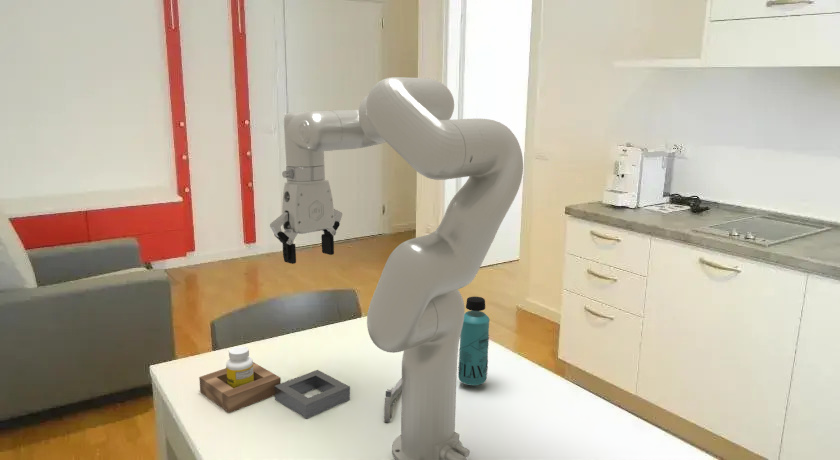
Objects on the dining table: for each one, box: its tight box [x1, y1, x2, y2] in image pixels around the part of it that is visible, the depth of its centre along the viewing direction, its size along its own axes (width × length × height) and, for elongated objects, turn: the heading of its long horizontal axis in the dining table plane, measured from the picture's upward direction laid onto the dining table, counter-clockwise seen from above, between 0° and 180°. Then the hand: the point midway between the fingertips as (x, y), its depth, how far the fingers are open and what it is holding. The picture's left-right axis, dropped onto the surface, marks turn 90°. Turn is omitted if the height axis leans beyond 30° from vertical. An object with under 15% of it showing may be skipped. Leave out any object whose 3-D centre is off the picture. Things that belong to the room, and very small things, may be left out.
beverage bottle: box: [457, 296, 491, 386], centre depth 135 cm, size 6×7×20 cm
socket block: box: [274, 369, 351, 420], centre depth 129 cm, size 11×11×3 cm
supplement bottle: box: [225, 345, 254, 388], centre depth 130 cm, size 5×5×10 cm
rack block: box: [198, 361, 282, 414], centre depth 131 cm, size 12×12×4 cm
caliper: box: [383, 377, 402, 423], centre depth 130 cm, size 20×1×6 cm, turn 170°
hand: (309, 258), depth 127 cm, fingers open, 9 cm apart
